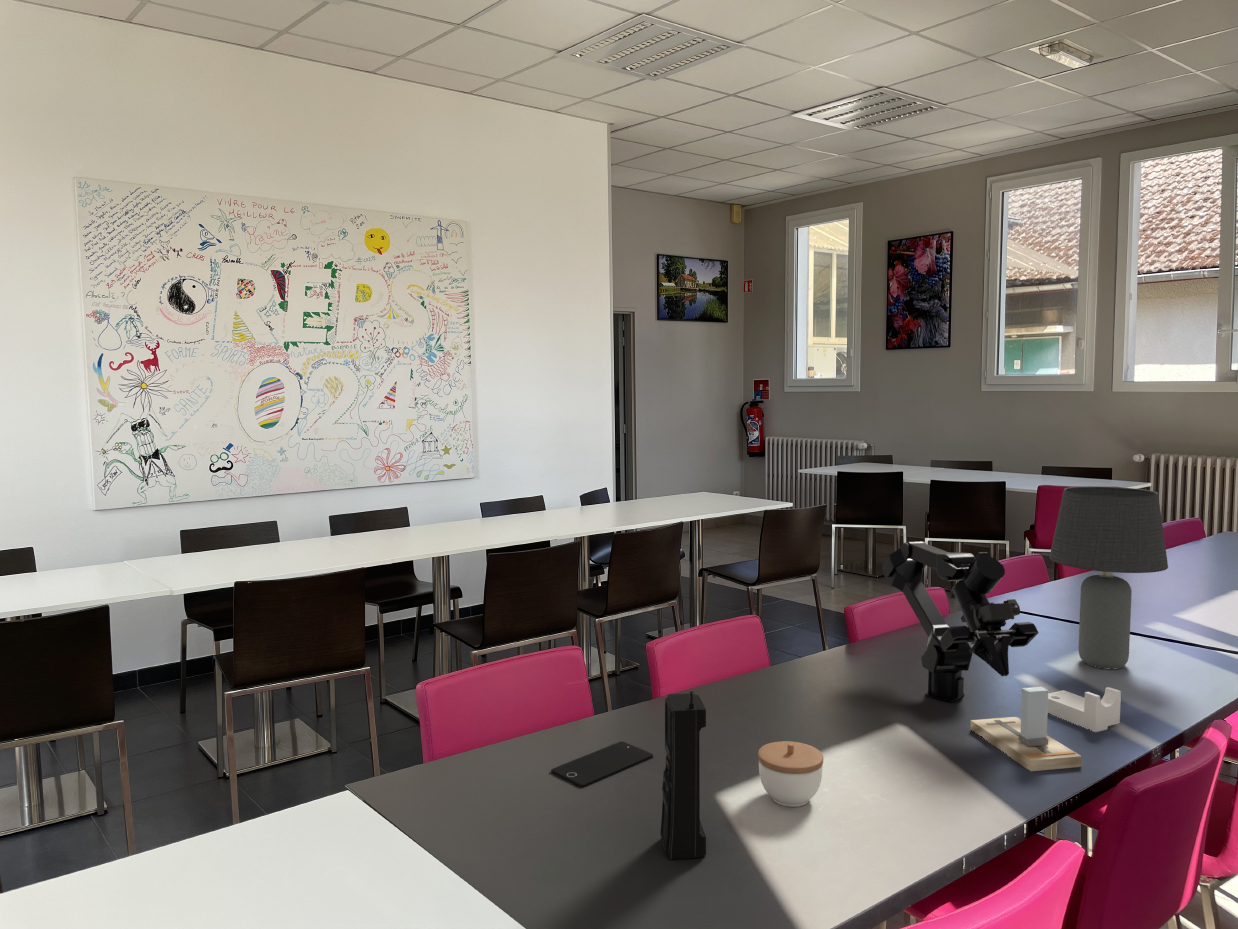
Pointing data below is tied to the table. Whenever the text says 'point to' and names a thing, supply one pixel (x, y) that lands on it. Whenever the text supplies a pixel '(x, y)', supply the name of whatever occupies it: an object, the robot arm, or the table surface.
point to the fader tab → (1034, 716)
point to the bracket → (1087, 708)
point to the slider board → (1031, 757)
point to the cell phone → (601, 764)
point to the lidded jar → (790, 772)
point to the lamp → (1108, 561)
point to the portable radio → (682, 777)
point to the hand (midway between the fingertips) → (1005, 675)
